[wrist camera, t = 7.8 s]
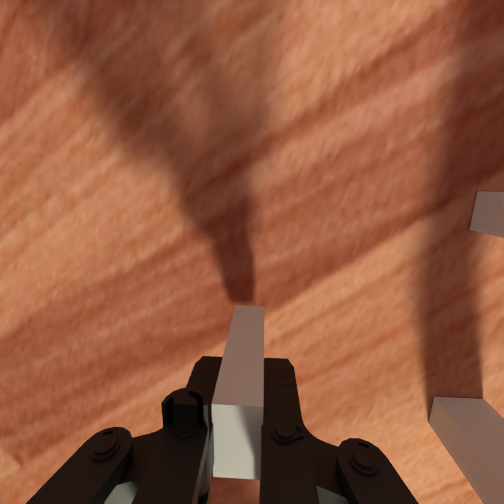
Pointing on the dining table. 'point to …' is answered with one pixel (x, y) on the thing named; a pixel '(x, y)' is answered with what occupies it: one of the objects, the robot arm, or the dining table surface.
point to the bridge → (471, 409)
